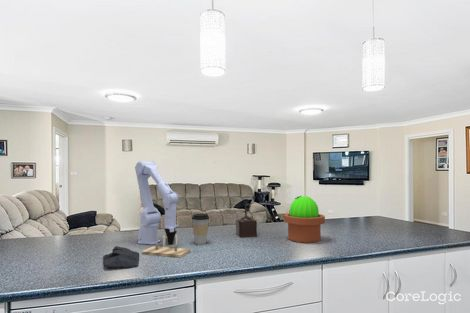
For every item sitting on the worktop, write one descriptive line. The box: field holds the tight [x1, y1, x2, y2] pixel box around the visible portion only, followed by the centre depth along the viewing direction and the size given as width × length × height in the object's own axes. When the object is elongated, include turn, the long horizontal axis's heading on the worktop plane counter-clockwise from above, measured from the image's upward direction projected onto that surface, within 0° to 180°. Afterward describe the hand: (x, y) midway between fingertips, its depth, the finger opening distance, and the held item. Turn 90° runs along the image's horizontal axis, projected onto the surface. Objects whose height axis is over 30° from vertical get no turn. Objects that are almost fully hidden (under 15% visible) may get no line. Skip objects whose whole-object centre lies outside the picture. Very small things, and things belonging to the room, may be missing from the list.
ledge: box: [141, 242, 191, 258], centre depth 137 cm, size 20×10×4 cm, turn 74°
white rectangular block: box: [162, 234, 179, 248], centre depth 148 cm, size 7×3×6 cm, turn 109°
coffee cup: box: [191, 213, 210, 245], centre depth 156 cm, size 9×9×15 cm
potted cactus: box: [283, 195, 326, 244], centre depth 164 cm, size 22×22×25 cm
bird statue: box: [235, 203, 258, 239], centre depth 177 cm, size 16×11×18 cm
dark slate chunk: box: [102, 245, 140, 270], centre depth 124 cm, size 15×22×5 cm
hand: (170, 243), depth 148 cm, fingers closed on white rectangular block, 3 cm apart
